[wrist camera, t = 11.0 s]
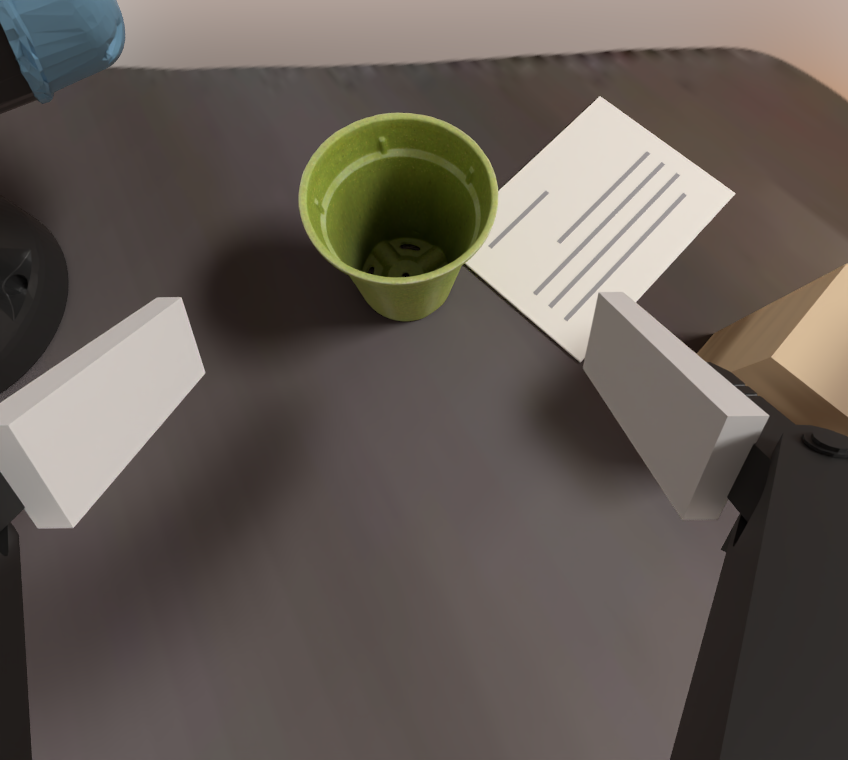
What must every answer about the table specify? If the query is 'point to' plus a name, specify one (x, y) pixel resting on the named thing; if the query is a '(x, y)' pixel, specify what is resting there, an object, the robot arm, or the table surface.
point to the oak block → (794, 352)
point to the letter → (593, 222)
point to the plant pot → (399, 208)
